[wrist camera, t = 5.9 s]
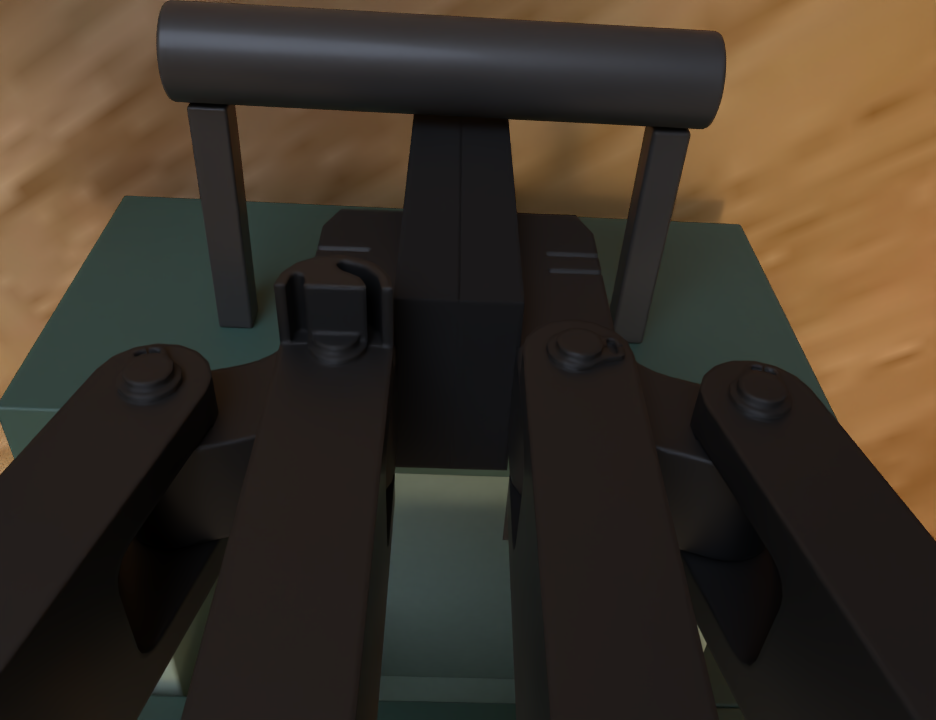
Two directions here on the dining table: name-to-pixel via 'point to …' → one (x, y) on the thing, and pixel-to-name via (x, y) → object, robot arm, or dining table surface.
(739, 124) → the dining table surface
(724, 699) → the cabinet
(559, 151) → the dining table surface
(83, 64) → the dining table surface
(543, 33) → the drawer
